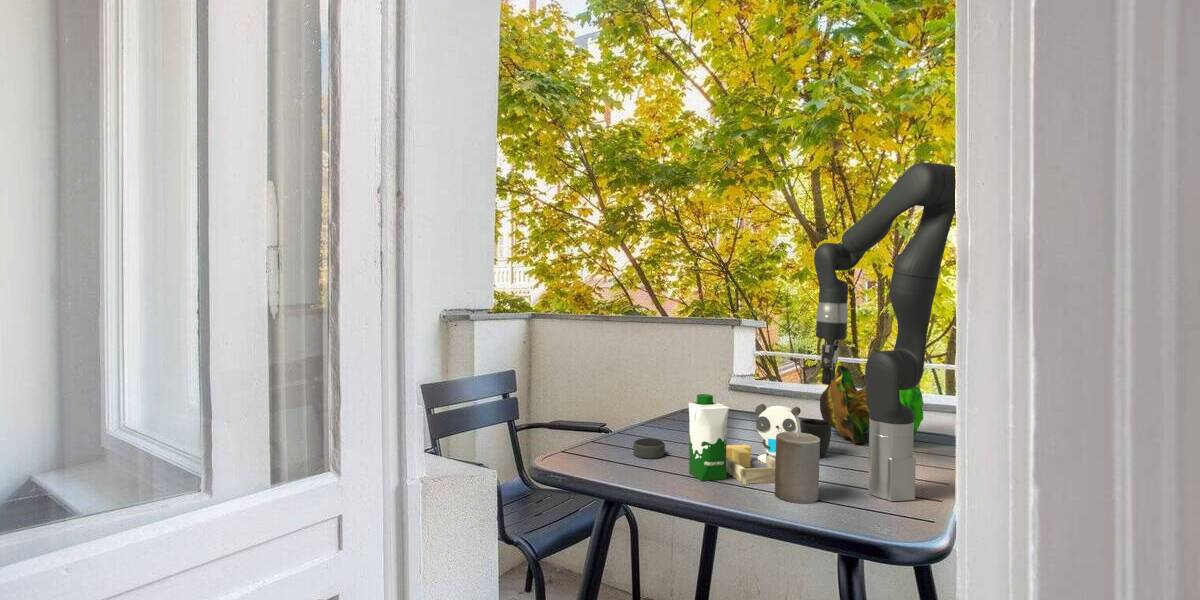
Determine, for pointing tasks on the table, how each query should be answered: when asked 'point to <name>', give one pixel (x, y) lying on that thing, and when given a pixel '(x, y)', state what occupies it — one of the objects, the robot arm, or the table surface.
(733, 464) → the beige shallow open box
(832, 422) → the decorative tree
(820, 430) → the mug
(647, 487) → the table surface
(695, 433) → the milk carton
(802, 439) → the pillar candle
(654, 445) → the smart speaker
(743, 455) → the yellow cheese wedge
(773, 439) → the panda figurine
